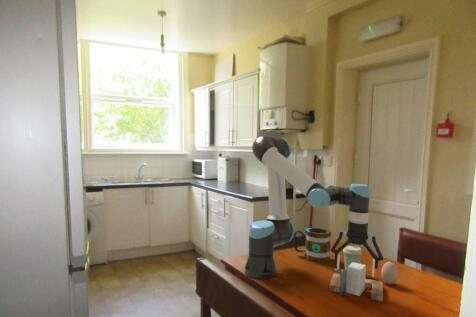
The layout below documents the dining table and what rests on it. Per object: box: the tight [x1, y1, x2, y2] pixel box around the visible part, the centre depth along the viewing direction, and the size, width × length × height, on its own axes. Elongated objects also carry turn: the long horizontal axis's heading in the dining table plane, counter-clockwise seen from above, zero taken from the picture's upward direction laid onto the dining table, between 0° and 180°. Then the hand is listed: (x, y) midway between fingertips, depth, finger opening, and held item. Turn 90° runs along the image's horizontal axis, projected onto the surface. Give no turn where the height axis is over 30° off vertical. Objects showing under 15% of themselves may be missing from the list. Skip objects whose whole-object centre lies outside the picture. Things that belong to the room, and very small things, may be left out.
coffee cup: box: [342, 245, 363, 270], centre depth 149 cm, size 8×8×12 cm
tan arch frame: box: [328, 272, 384, 302], centre depth 131 cm, size 20×14×2 cm
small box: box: [346, 262, 367, 297], centre depth 129 cm, size 8×6×10 cm
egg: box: [380, 261, 399, 286], centre depth 137 cm, size 7×7×10 cm
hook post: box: [332, 268, 347, 298], centre depth 126 cm, size 5×2×10 cm, turn 66°
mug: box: [293, 227, 332, 263], centre depth 170 cm, size 20×14×15 cm
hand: (355, 272), depth 130 cm, fingers open, 13 cm apart
